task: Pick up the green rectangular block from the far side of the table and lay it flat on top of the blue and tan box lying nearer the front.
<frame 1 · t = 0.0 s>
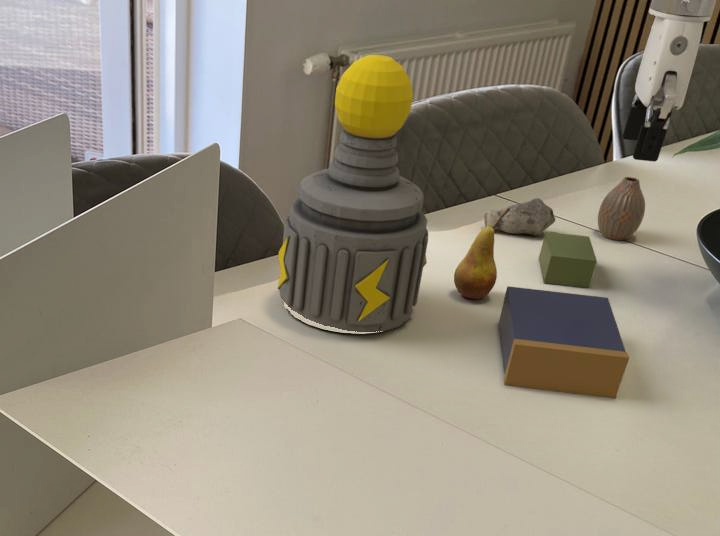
hand: (638, 149, 135), 18 cm above the table, tool pointing down, fingers open, 9 cm apart
green rectangular block: (563, 272, 148), on the table
stone: (516, 234, 160), on the table
blue and tan box: (553, 357, 126), on the table
vase: (614, 237, 161), on the table
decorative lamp: (345, 309, 134), on the table
fruit: (470, 297, 139), on the table
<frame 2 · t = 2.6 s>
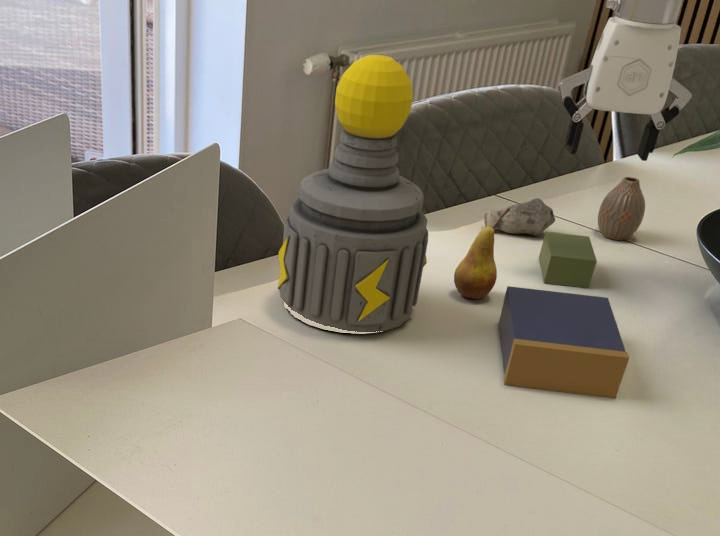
hand: (606, 154, 137), 17 cm above the table, tool pointing down, fingers open, 9 cm apart
nothing on the table moved.
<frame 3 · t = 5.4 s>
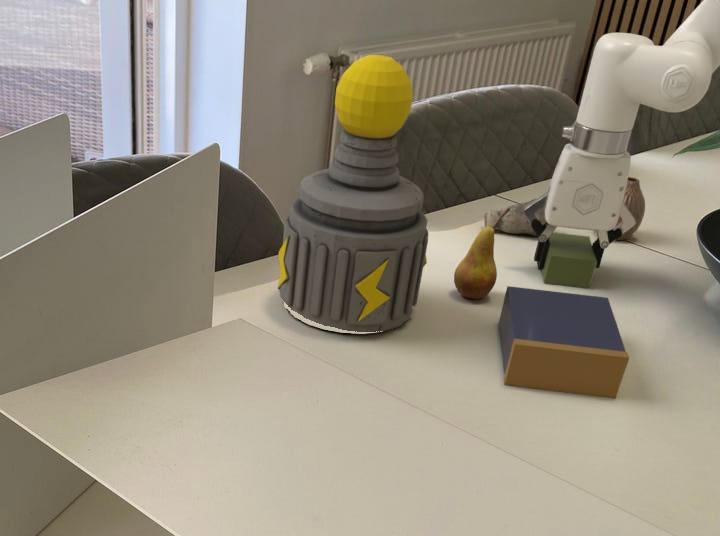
hand: (564, 268, 147), 1 cm above the table, tool pointing down, fingers closed on green rectangular block, 6 cm apart
green rectangular block: (563, 272, 148), on the table, touching gripper
everything else where it was.
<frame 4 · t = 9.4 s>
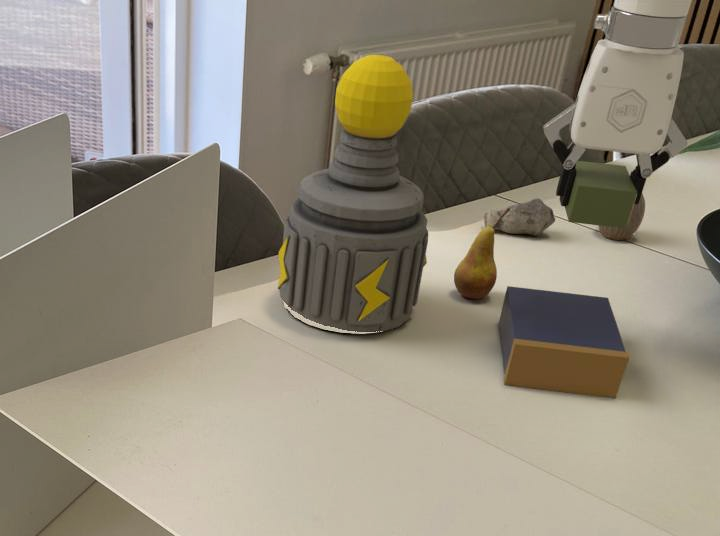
hand: (594, 204, 117), 18 cm above the table, tool pointing down, fingers closed on green rectangular block, 6 cm apart
green rectangular block: (592, 211, 117), point 17 cm above the table, touching gripper
everything else where it was.
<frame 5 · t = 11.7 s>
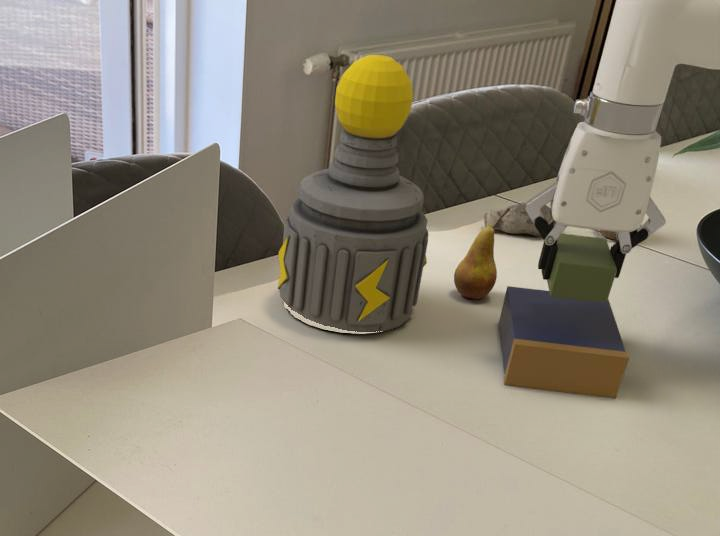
hand: (576, 277, 119), 10 cm above the table, tool pointing down, fingers closed on green rectangular block, 6 cm apart
green rectangular block: (573, 283, 120), point 10 cm above the table, touching gripper
everything else where it was.
when the fingers open (6 cm above the table, at t = 13.5 s): green rectangular block stays where it is, resting on blue and tan box.
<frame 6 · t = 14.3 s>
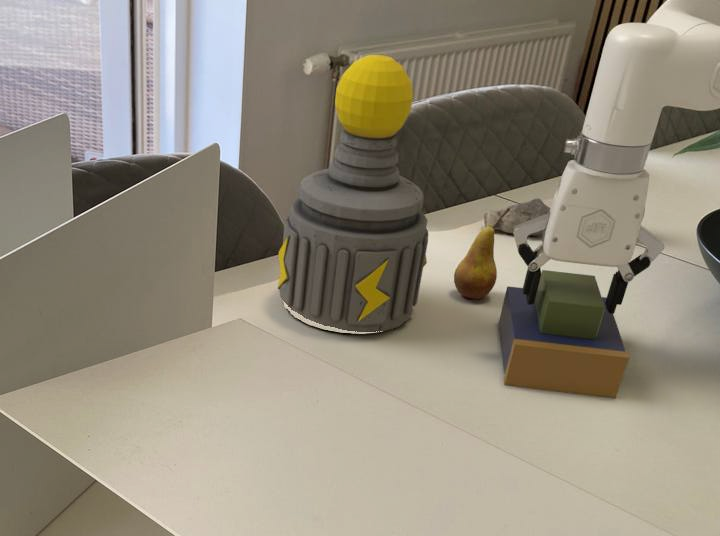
hand: (569, 304, 121), 7 cm above the table, tool pointing down, fingers open, 9 cm apart
green rectangular block: (563, 319, 123), point 5 cm above the table, touching blue and tan box
blue and tan box: (553, 357, 126), on the table, touching green rectangular block
everything else where it was.
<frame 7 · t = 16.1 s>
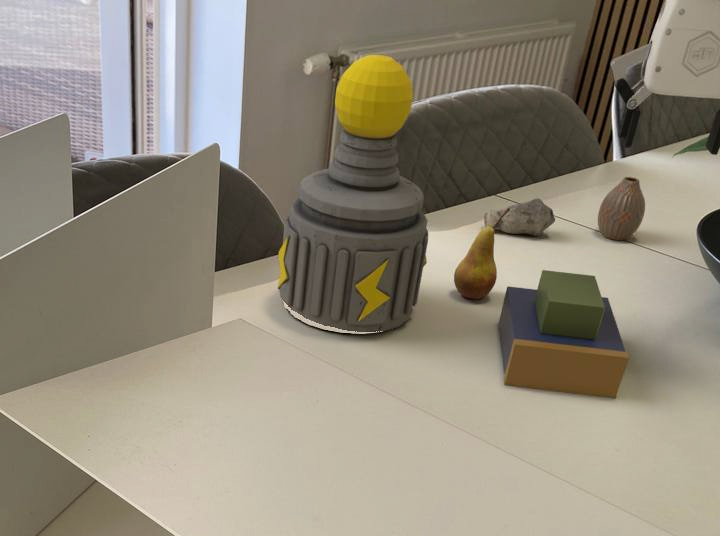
hand: (668, 147, 115), 24 cm above the table, tool pointing down, fingers open, 9 cm apart
nothing on the table moved.
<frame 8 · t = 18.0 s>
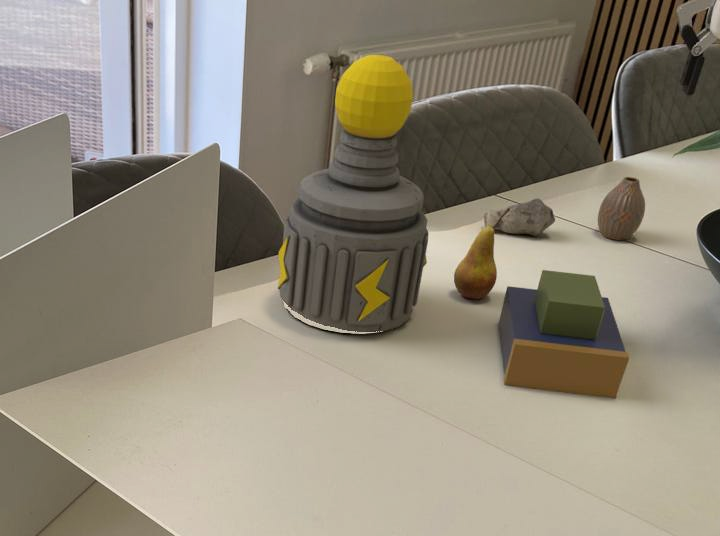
nothing on the table moved.
at the end: green rectangular block inside the target area on the blue and tan box (0.0 cm from its centre), point 5.0 cm above the blue and tan box's base; green rectangular block tilted 0°; the gripper is holding nothing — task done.
